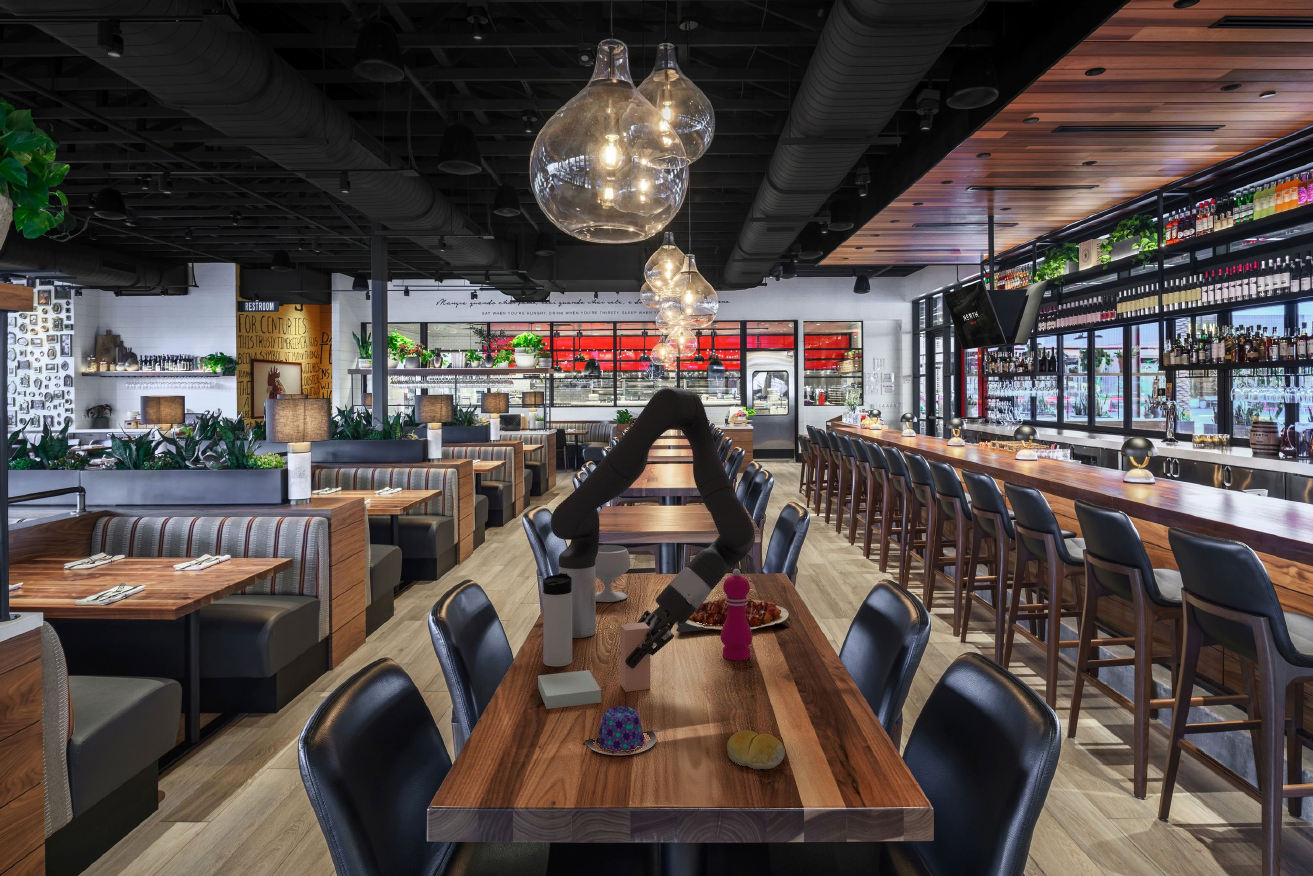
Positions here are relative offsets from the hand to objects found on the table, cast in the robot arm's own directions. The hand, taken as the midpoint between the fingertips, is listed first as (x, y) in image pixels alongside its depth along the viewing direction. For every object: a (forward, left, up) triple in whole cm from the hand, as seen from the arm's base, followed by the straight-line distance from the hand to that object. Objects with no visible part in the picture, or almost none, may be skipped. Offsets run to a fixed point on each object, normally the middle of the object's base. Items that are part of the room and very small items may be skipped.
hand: (625, 661), depth 142 cm
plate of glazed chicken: (+2, +58, -7) cm, 58 cm away
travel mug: (-21, +8, -7) cm, 23 cm away
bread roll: (+31, -14, -7) cm, 35 cm away
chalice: (-40, +65, -7) cm, 76 cm away
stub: (+1, +1, -5) cm, 6 cm away
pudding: (+8, -18, -7) cm, 21 cm away
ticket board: (-3, -2, -7) cm, 8 cm away
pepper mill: (+12, +31, -7) cm, 34 cm away
